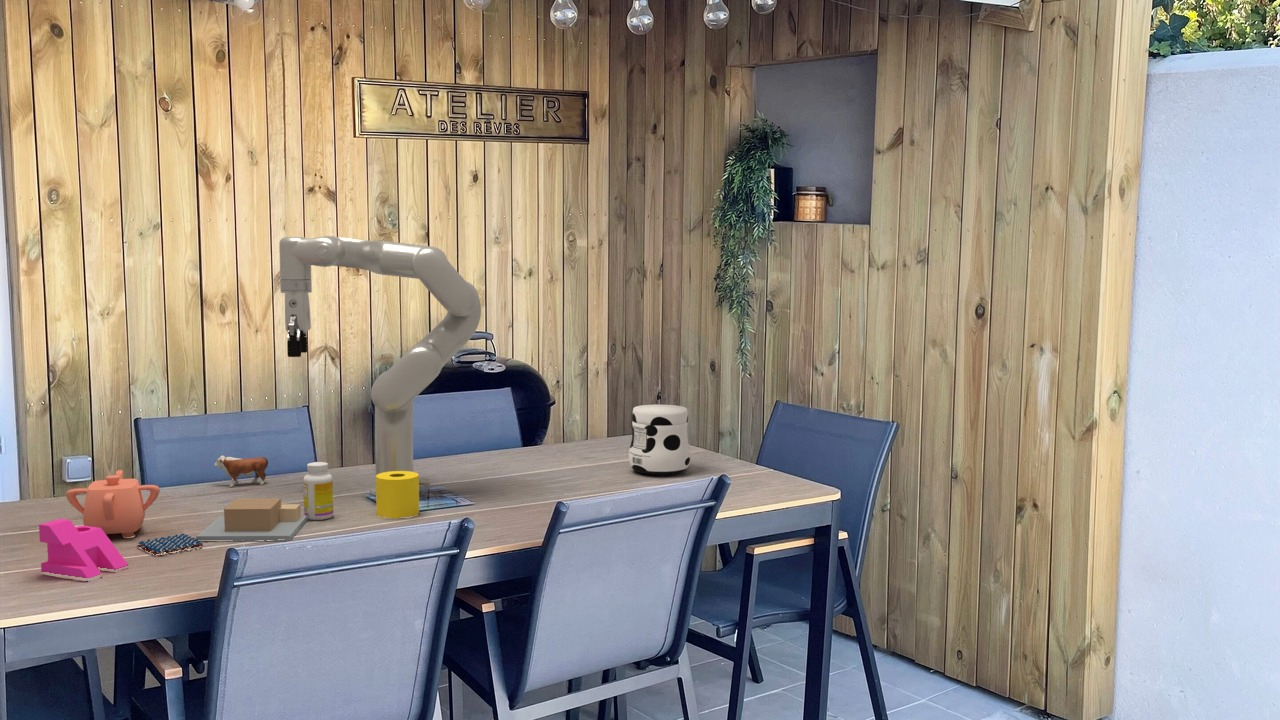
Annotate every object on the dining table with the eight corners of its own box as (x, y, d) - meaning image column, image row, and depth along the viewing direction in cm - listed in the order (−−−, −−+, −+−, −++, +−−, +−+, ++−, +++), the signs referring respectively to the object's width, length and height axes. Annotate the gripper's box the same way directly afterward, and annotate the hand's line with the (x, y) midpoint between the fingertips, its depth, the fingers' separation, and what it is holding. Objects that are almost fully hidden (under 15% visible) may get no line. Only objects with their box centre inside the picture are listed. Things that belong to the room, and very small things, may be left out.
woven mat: (134, 550, 258) (134, 541, 257) (183, 541, 265) (183, 532, 265) (155, 560, 250) (155, 550, 250) (204, 550, 258) (204, 541, 257)
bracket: (41, 575, 238) (38, 524, 236) (83, 562, 247) (80, 512, 246) (88, 582, 233) (85, 530, 232) (128, 568, 243) (126, 518, 242)
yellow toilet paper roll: (419, 508, 295) (418, 470, 293) (419, 518, 285) (418, 479, 284) (377, 509, 293) (376, 471, 292) (375, 519, 283) (374, 480, 282)
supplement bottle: (339, 515, 287) (338, 462, 285) (323, 522, 281) (321, 467, 279) (314, 513, 289) (313, 460, 288) (298, 519, 283) (297, 465, 281)
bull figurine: (215, 485, 318) (214, 454, 317) (268, 482, 323) (267, 451, 322) (214, 488, 314) (213, 457, 313) (268, 485, 318) (267, 454, 317)
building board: (307, 520, 282) (306, 494, 281) (289, 541, 264) (289, 513, 263) (220, 521, 281) (219, 494, 280) (196, 541, 263) (195, 513, 262)
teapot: (110, 546, 258) (108, 486, 257) (59, 537, 265) (56, 478, 264) (171, 529, 273) (169, 472, 272) (122, 521, 280) (119, 465, 279)
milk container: (694, 467, 346) (695, 404, 344) (685, 479, 329) (686, 414, 327) (634, 464, 349) (635, 402, 347) (623, 477, 332) (623, 412, 330)
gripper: (306, 288, 294) (307, 358, 296) (316, 284, 311) (318, 350, 313) (274, 288, 294) (276, 358, 295) (286, 284, 311) (288, 351, 313)
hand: (297, 354), depth 304 cm, fingers open, 9 cm apart
